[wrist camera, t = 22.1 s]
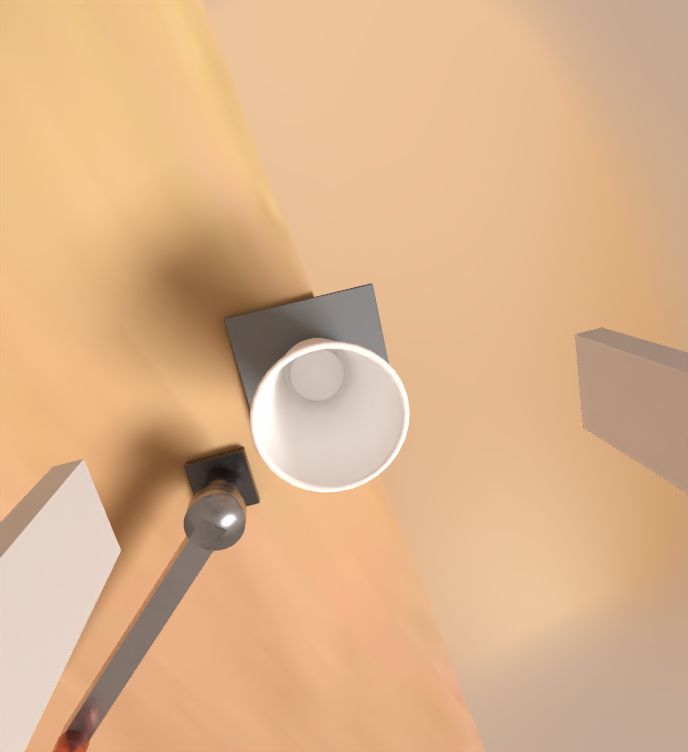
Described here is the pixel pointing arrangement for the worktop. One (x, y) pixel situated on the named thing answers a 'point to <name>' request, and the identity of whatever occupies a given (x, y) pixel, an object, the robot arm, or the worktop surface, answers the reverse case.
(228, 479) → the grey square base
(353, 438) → the cup
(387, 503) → the worktop surface
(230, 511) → the lever
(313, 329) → the mat
